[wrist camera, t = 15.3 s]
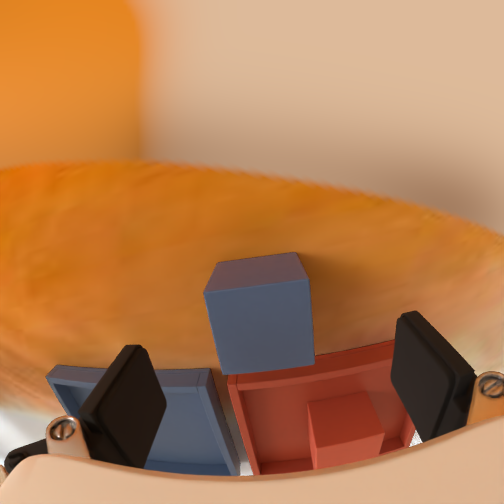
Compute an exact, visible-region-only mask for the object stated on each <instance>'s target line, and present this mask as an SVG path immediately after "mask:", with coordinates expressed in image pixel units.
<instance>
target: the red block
mask: <svg viewBox="0 0 504 504" xmlns="http://www.w3.org/2000/svg"><path fill="white" fill-rule="evenodd" d="M307 412H308V438H309V444H310V450H311V456H312V462H313V468H314V470H316V469H322V468H328V467H334V466H339V465H344V464H349V463H354V462H358V461H363V460H367V459H371V458H375V457H378V455H379V452H380V449H381V445H382V442H383V438H384V435H385V432H384V429H383V427H382V425H381V423H380V420H379V418H378V416H377V413H376V411H375V409H374V407H373V404H372V402H371V400H370V398H369V396H368V393H367V391H363V392H359V393H355V394H350V395H345V396H341V397H336V398H330V399H325V400H319V401H313V402H308V403H307Z"/></svg>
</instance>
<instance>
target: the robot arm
mask: <svg viewBox="0 0 504 504" xmlns="http://www.w3.org/2000/svg"><path fill="white" fill-rule="evenodd" d="M474 371H475V370H474V369H473V368H472V367H471V366H470V365H469V364H468V363H467V362H466V360H465V359H464V358H463V357H462V356H461V355H460V354H459V353H458V352H457V351H456V350H455V349H454V348H453V347H452V346H451V344H450V343H449V342H448V341H447V340H446V339H445V338H444V337H443V336H442V335H441V334H440V333H439V332H438V331H437V330H436V329H435V328H434V327H433V326H432V325H431V324H430V323H429V322H428V321H427V320H426V319H425V318H424V317H423V316H422V315H421V314H420V313H419V312H418V311H411V312H406V313H403V314H402V315H401V317H400V318H398V319H397V324H396V334H395V344H394V352H393V360H392V367H391V374H390V378H391V382H392V385H393V386H394V388H395V390H396V392H397V394H398V396H399V398H400V399H401V401H402V403H403V405H404V407H405V409H406V411H407V413H408V415H409V416H410V418H411V420H412V422H413V424H414V426H415V428H416V430H417V432H418V434H419V436H420V438H421V440H422V442H423V443H420V444H417V445H414V446H411V447H408V448H405V449H402V450H399V451H396V452H392V453H389V454H385V455H382V456H378V457H375V458H371V459H367V460H363V461H358V462H354V463H349V464H344V465H339V466H334V467H328V468H322V469H316V470H309V471H302V472H293V473H283V474H271V475H253V476H210V475H191V474H179V473H169V472H160V471H153V470H146V469H143V468H144V466H145V463H146V461H147V458H148V455H149V452H150V450H151V447H152V444H153V442H154V439H155V437H156V434H157V431H158V429H159V426H160V423H161V421H162V418H163V416H164V413H165V410H166V408H167V400H166V398H165V395H164V393H163V391H162V388H161V386H160V383H159V381H158V379H157V376H156V374H155V371H154V368H153V366H152V363H151V361H150V358H149V355H148V352H147V350H146V349H145V348H143V347H142V346H141V345H126V346H124V348H123V349H122V350H121V352H120V353H119V354H118V356H117V357H116V359H115V360H114V361H113V363H112V364H111V365H110V367H109V368H108V369H107V371H106V372H105V374H104V375H103V376H102V378H101V379H100V380H99V382H98V383H97V385H96V386H95V387H94V389H93V390H92V392H91V393H90V394H89V396H88V397H87V399H86V400H85V402H84V403H83V404H82V406H81V407H80V409H79V410H78V413H79V415H80V417H79V419H77V418H75V417H73V416H61V417H58V418H56V419H54V420H53V421H52V422H51V423H50V424H49V425H48V427H47V429H46V439H43V440H40V441H37V442H34V443H32V444H29V445H26V446H23V447H20V448H17V449H15V450H12V451H11V452H9V454H8V455H7V457H6V459H5V462H4V466H5V467H3V466H2V465H0V504H504V374H502V373H500V372H496V371H488V372H484V373H482V374H481V375H479V376H478V377H477V376H476V375H475V373H474Z"/></svg>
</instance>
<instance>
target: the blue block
mask: <svg viewBox="0 0 504 504" xmlns="http://www.w3.org/2000/svg"><path fill="white" fill-rule="evenodd" d="M203 294H204V299H205V304H206V308H207V312H208V317H209V321H210V325H211V330H212V334H213V338H214V342H215V346H216V350H217V354H218V358H219V362H220V366H221V370H222V374H223V375H231V374H243V373H254V372H263V371H272V370H280V369H288V368H295V367H302V366H308V365H314V364H315V354H314V335H313V318H312V304H311V291H310V279H309V277H308V275H307V273H306V271H305V269H304V267H303V265H302V263H301V261H300V259H299V257H298V255H297V253H296V252H292V253H284V254H277V255H270V256H262V257H255V258H247V259H240V260H232V261H225V262H218V263H217V264H216V266H215V269H214V271H213V273H212V275H211V277H210V279H209V281H208V284H207V286H206V288H205V290H204V292H203Z"/></svg>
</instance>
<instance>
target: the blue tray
mask: <svg viewBox="0 0 504 504" xmlns="http://www.w3.org/2000/svg"><path fill="white" fill-rule="evenodd" d="M106 371H107V369H103V368H87V367H75V366H64V365H56V366H55V367H54V368H53V369H52V370H51V371H50V372H49V373H48V375H47V376H46V379H47V381H48V383H49V385H50V386H51V388H52V390H53V392H54V393H55V395H56V397H57V398H58V400H59V402H60V403H61V405H62V407H63V408H64V410H65V412H66V413H67V415H68V416H73V417H75V418H77V419H79V417H80V415H79V413H78V410H79V409H80V407H81V406H82V404H83V403H84V402H85V400H86V399H87V397H88V396H89V394H90V393H91V392H92V390H93V389H94V387H95V386H96V385H97V383H98V382H99V380H100V379H101V378H102V376H103V375H104V374H105V372H106ZM154 371H155V374H156V376H157V379H158V381H159V383H160V386H161V388H162V391H163V393H164V395H165V398H166V400H167V408H166V410H165V413H164V416H163V418H162V421H161V423H160V426H159V429H158V431H157V434H156V437H155V439H154V442H153V444H152V447H151V450H150V452H149V455H148V458H147V461H146V463H145V466H144V468H143V469H146V470H153V471H160V472H169V473H179V474H191V475H210V476H240V461H239V458H238V455H237V452H236V449H235V446H234V444H233V441H232V438H231V435H230V432H229V429H228V426H227V422H226V419H225V416H224V413H223V410H222V407H221V404H220V400H219V397H218V394H217V390H216V387H215V384H214V380H213V377H212V373H211V370H210V368H202V369H176V370H154Z"/></svg>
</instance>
